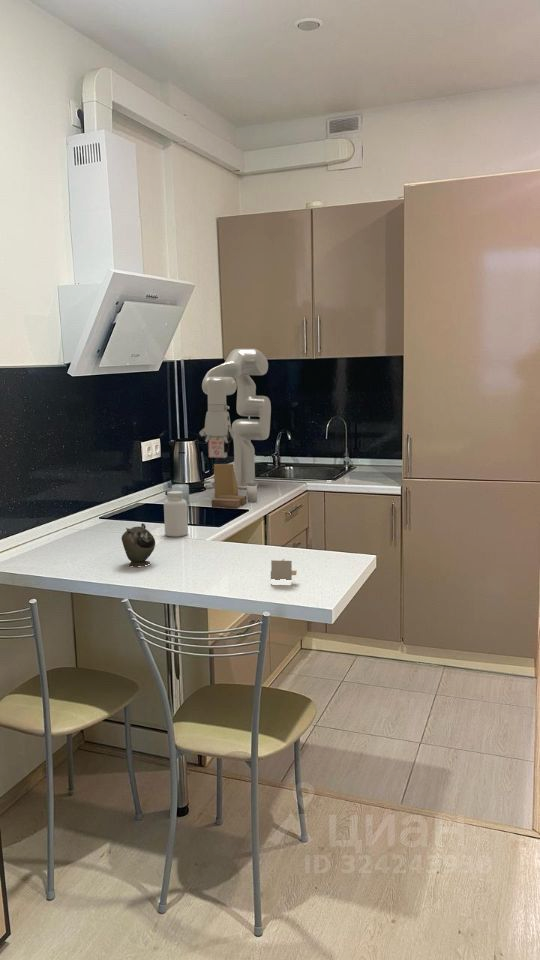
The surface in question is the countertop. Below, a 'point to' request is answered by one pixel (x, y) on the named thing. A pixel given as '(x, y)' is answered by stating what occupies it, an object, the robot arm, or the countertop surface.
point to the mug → (183, 488)
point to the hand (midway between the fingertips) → (217, 451)
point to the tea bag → (216, 447)
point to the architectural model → (282, 570)
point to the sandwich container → (224, 480)
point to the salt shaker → (252, 491)
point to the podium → (229, 501)
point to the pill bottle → (175, 514)
